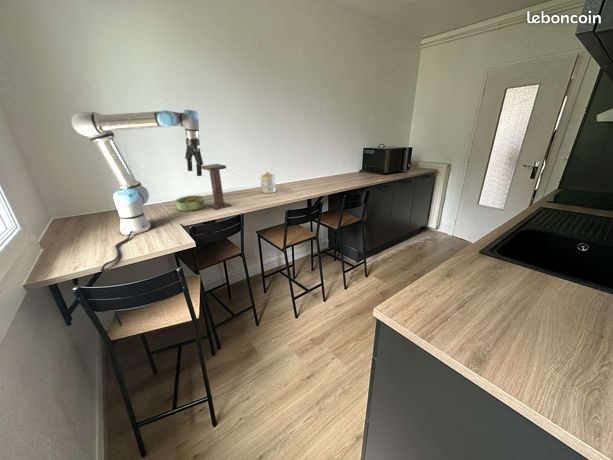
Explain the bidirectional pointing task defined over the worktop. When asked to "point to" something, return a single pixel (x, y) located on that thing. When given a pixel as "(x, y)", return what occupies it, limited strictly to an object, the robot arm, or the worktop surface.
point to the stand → (216, 186)
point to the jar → (268, 183)
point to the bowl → (192, 205)
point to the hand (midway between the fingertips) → (194, 173)
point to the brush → (192, 200)
